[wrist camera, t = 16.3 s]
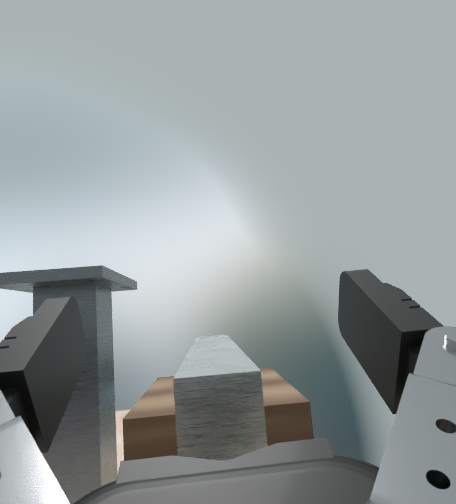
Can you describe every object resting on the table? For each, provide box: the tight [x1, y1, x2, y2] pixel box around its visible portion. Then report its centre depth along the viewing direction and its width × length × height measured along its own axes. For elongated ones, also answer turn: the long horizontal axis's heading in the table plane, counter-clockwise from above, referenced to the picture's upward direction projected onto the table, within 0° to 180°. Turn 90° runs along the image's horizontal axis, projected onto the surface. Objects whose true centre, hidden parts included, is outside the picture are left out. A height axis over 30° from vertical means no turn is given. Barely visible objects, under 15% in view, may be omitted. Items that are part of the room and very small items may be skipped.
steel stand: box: [0, 266, 137, 504], centre depth 39 cm, size 16×10×32 cm, turn 2°
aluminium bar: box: [173, 335, 268, 461], centre depth 26 cm, size 26×3×3 cm, turn 2°
